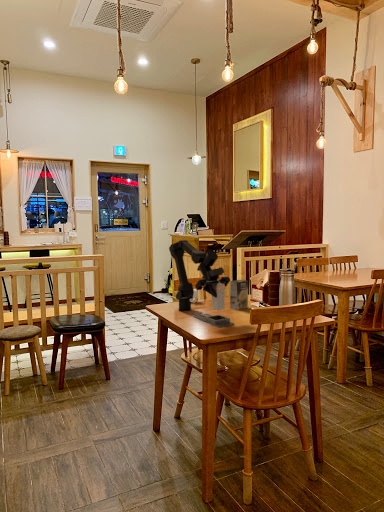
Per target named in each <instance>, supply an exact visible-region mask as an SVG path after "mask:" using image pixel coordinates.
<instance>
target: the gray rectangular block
mask: <svg viewBox="0 0 384 512" xmlns="http://www.w3.org/2000/svg"><path fill="white" fill-rule="evenodd" d="M212 287H213V289H214V291H215V293H216V296H217V297H216V298H215V297H214V296H212V295H211V296H212V297H211V298H212V299H211V304H212V305H211V307H212V310H214V311H217V312H218V311H222V310H225V306H226V305H225V298H226V297H225V293H226V292H225V291H226V289H225V287H226V286H225V284H223V283H212Z"/></svg>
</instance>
